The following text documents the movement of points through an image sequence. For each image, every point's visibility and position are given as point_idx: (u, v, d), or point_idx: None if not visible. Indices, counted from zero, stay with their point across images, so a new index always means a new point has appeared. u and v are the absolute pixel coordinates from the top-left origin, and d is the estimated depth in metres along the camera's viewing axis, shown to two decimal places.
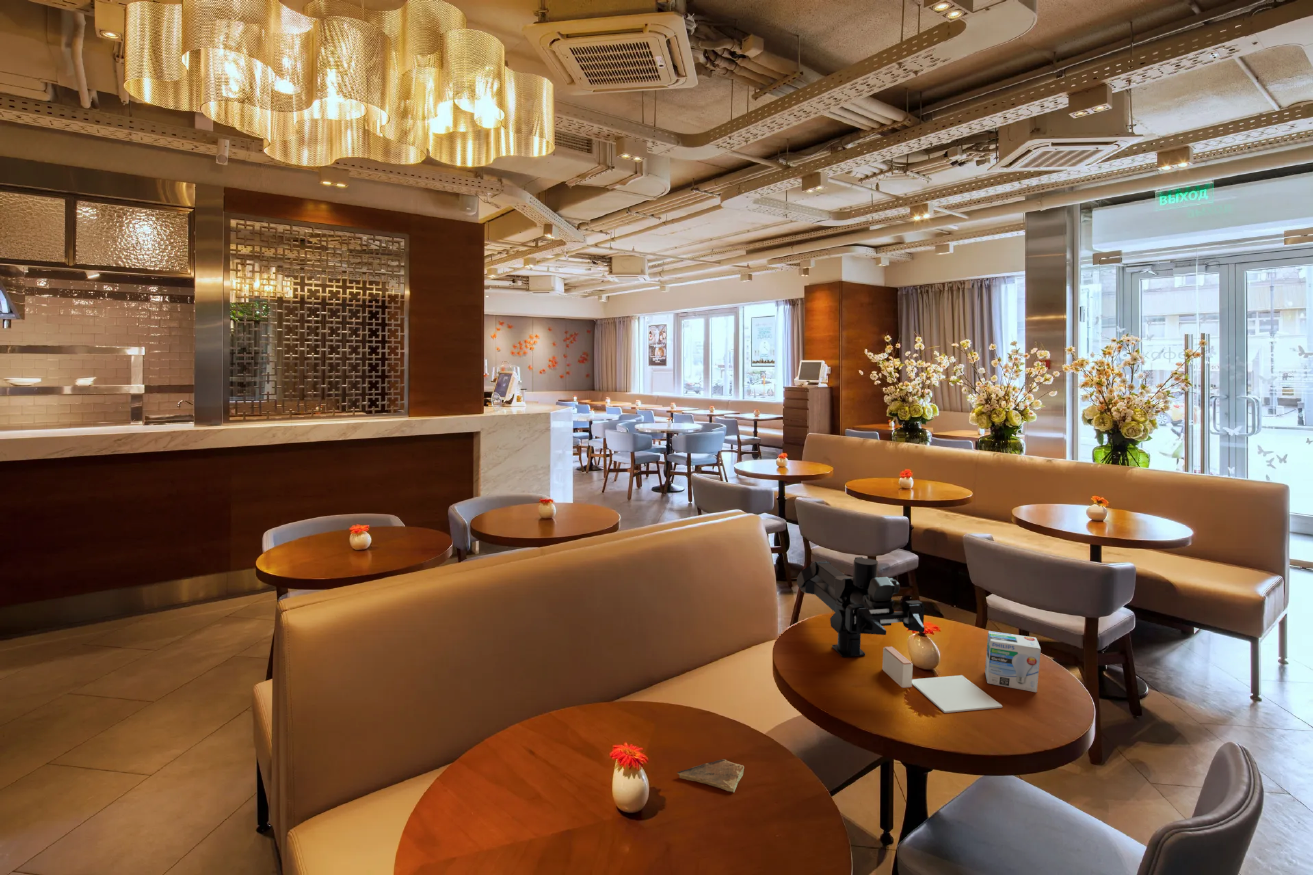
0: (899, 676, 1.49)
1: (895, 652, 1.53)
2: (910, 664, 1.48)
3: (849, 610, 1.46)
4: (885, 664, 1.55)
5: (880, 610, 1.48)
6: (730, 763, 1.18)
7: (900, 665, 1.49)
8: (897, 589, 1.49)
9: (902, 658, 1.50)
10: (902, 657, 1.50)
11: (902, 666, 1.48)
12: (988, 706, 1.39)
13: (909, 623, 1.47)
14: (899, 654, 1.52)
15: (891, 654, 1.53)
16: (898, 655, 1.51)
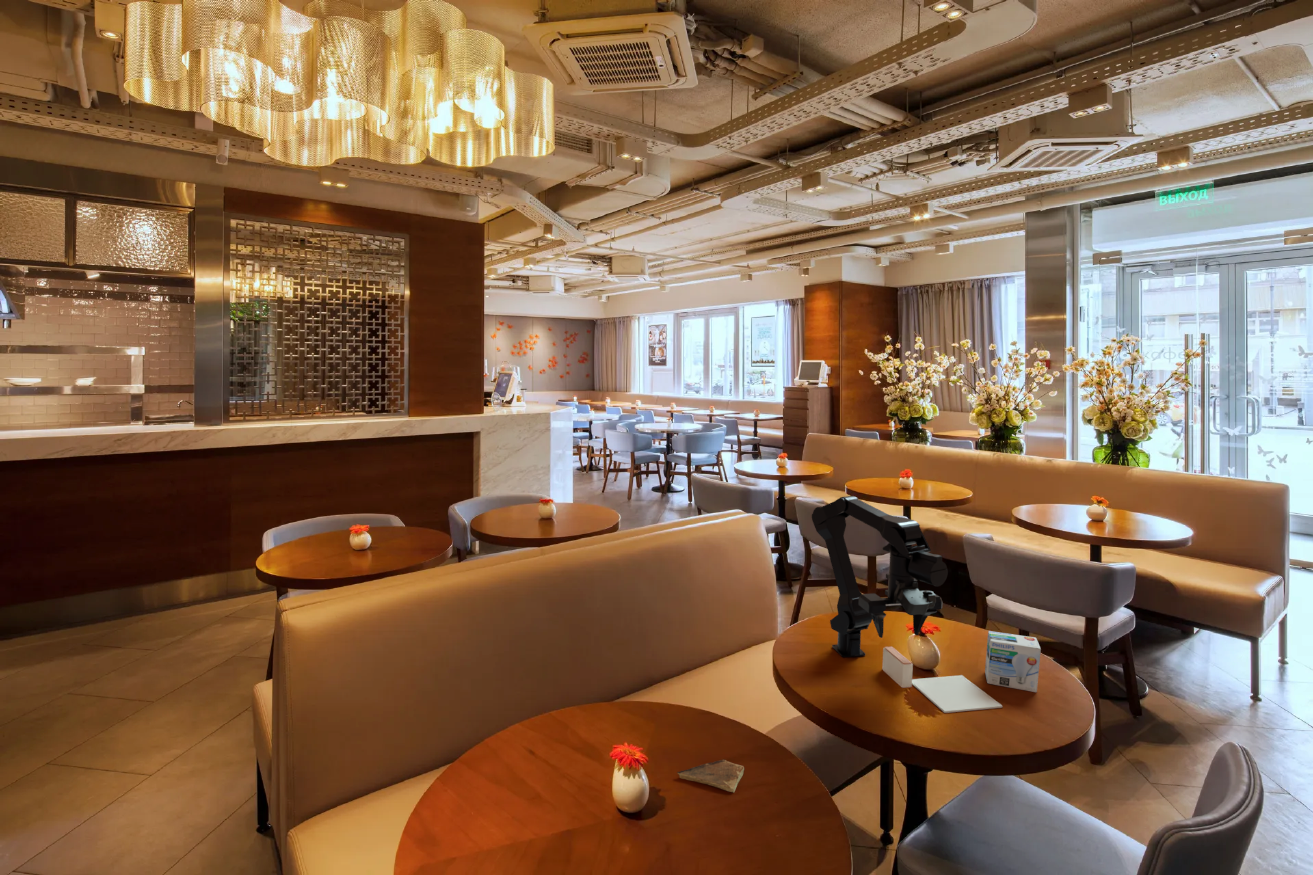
0: (899, 676, 1.49)
1: (895, 652, 1.53)
2: (910, 664, 1.48)
3: (868, 610, 1.47)
4: (885, 664, 1.55)
5: None
6: (730, 763, 1.18)
7: (900, 665, 1.49)
8: None
9: (902, 658, 1.50)
10: (902, 657, 1.50)
11: (902, 666, 1.48)
12: (988, 706, 1.39)
13: None
14: (899, 654, 1.52)
15: (891, 654, 1.53)
16: (898, 656, 1.51)
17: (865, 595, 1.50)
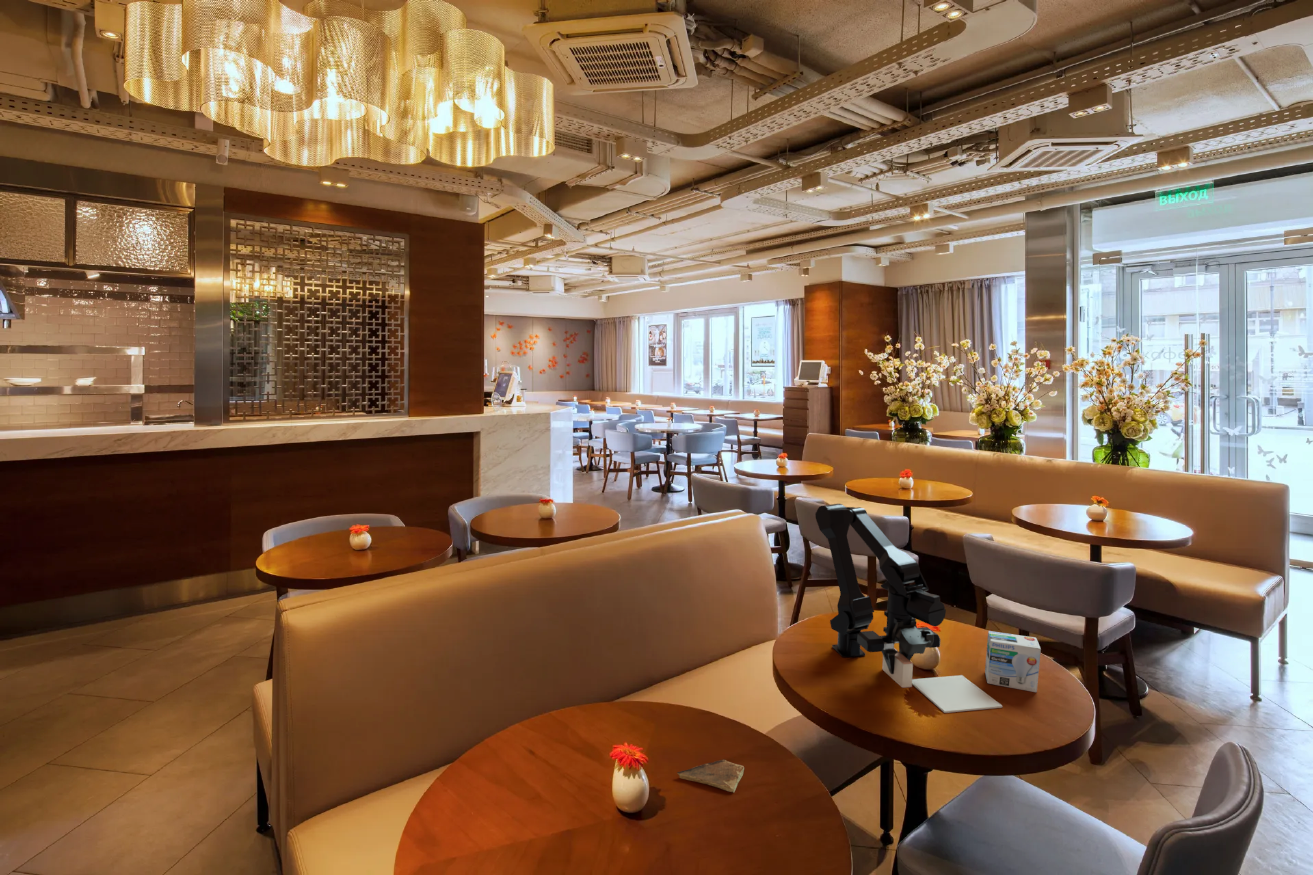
0: (899, 675, 1.49)
1: None
2: (910, 664, 1.48)
3: (867, 649, 1.48)
4: (885, 664, 1.55)
5: None
6: (730, 763, 1.18)
7: (900, 665, 1.49)
8: None
9: (902, 658, 1.50)
10: (902, 657, 1.50)
11: (902, 666, 1.48)
12: (988, 706, 1.39)
13: None
14: (899, 654, 1.52)
15: None
16: (898, 655, 1.51)
17: (864, 632, 1.51)
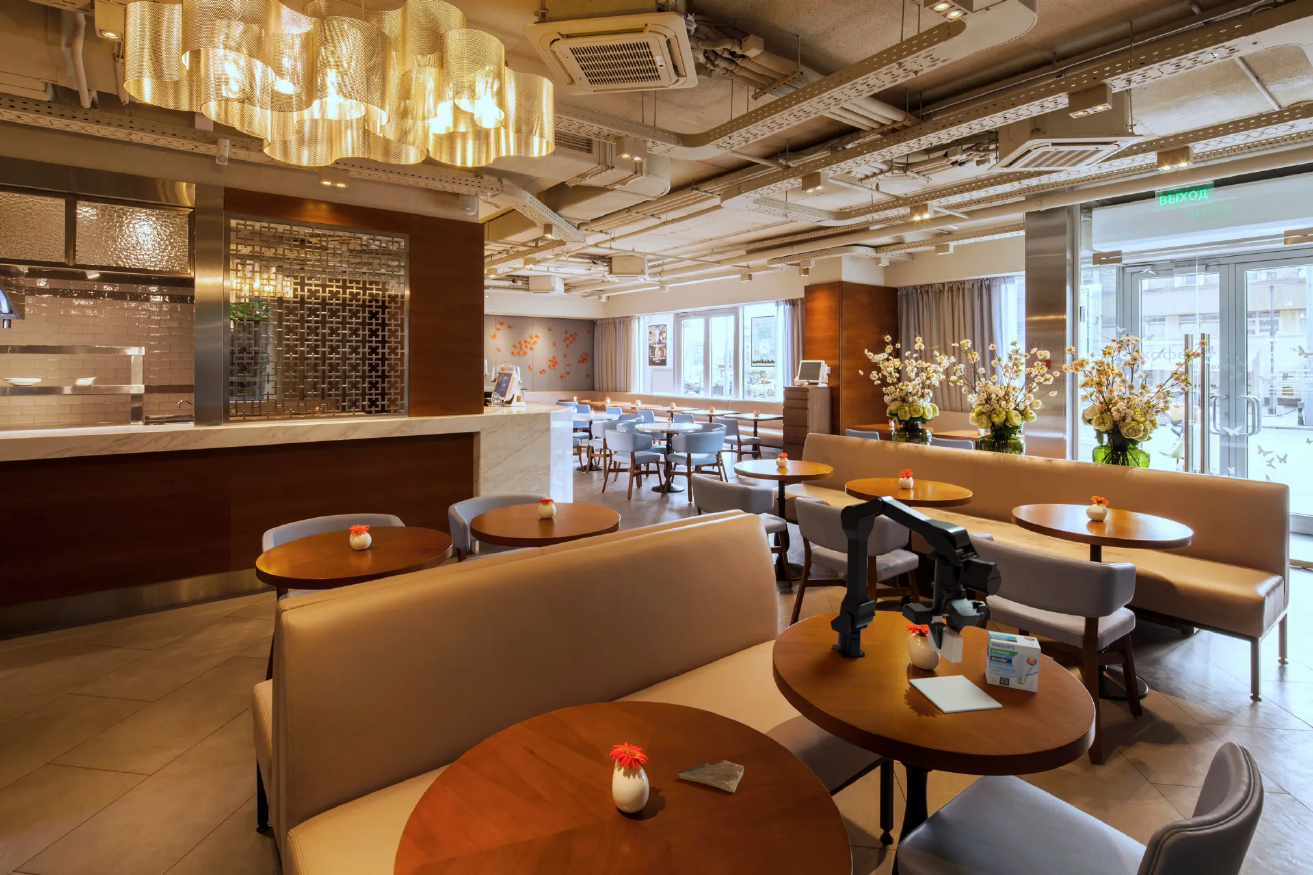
0: (948, 650, 1.40)
1: None
2: (960, 637, 1.39)
3: (914, 621, 1.39)
4: (931, 639, 1.46)
5: None
6: (730, 763, 1.18)
7: (949, 638, 1.40)
8: None
9: (951, 631, 1.41)
10: (951, 630, 1.42)
11: (952, 639, 1.39)
12: (988, 706, 1.39)
13: (950, 618, 1.44)
14: (947, 627, 1.43)
15: None
16: (947, 629, 1.42)
17: (910, 605, 1.42)
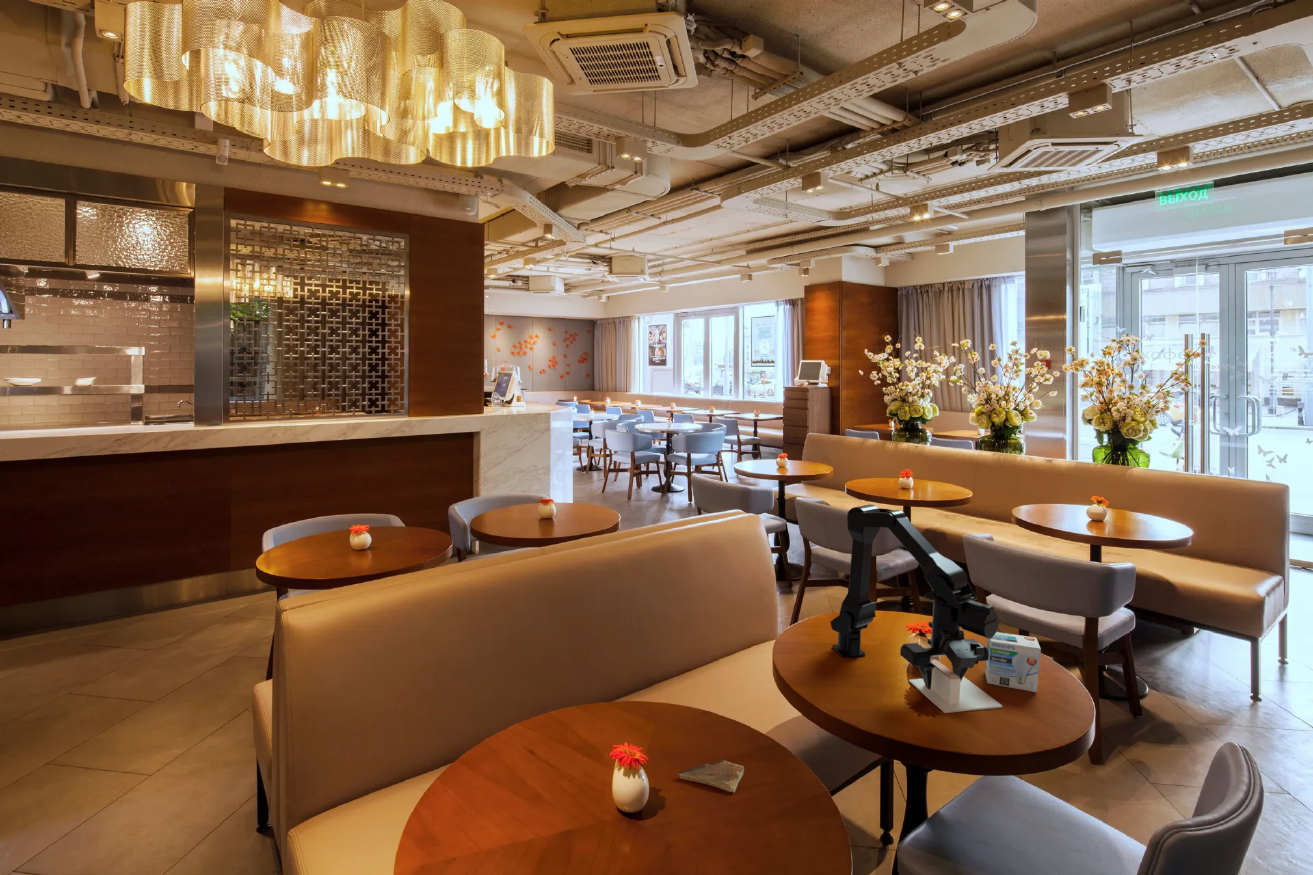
0: (946, 691, 1.41)
1: (940, 666, 1.45)
2: (958, 679, 1.40)
3: (912, 662, 1.40)
4: None
5: None
6: (730, 764, 1.18)
7: (947, 680, 1.41)
8: None
9: (949, 672, 1.42)
10: (948, 671, 1.43)
11: (949, 681, 1.40)
12: (988, 706, 1.39)
13: None
14: (945, 668, 1.44)
15: (936, 667, 1.45)
16: (944, 669, 1.43)
17: (908, 644, 1.44)
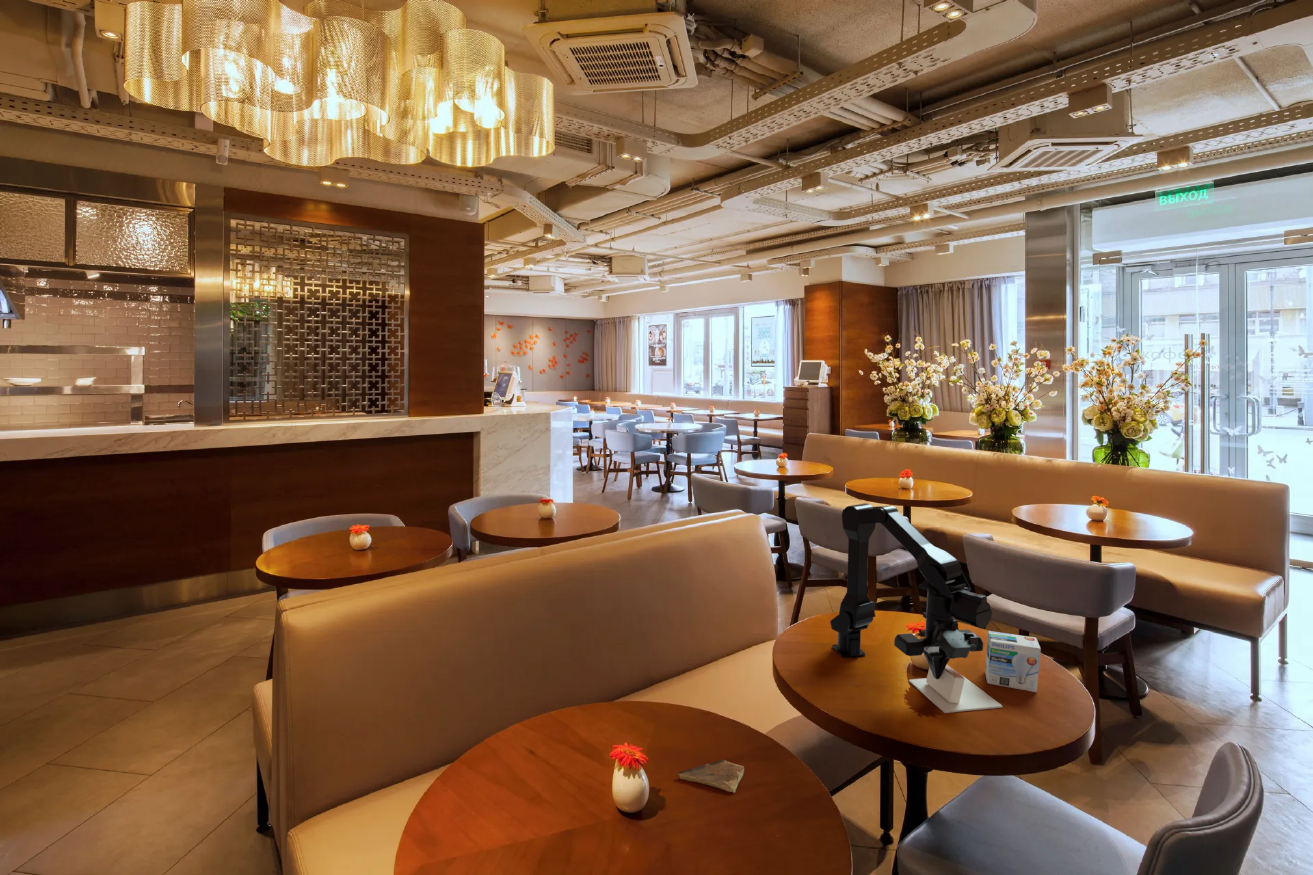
0: (948, 689, 1.41)
1: None
2: (962, 678, 1.40)
3: (905, 652, 1.39)
4: (930, 676, 1.48)
5: None
6: (730, 764, 1.18)
7: (950, 678, 1.41)
8: None
9: (953, 671, 1.42)
10: (953, 670, 1.43)
11: (953, 679, 1.40)
12: (988, 706, 1.39)
13: None
14: (949, 667, 1.44)
15: None
16: (949, 668, 1.43)
17: (902, 635, 1.43)
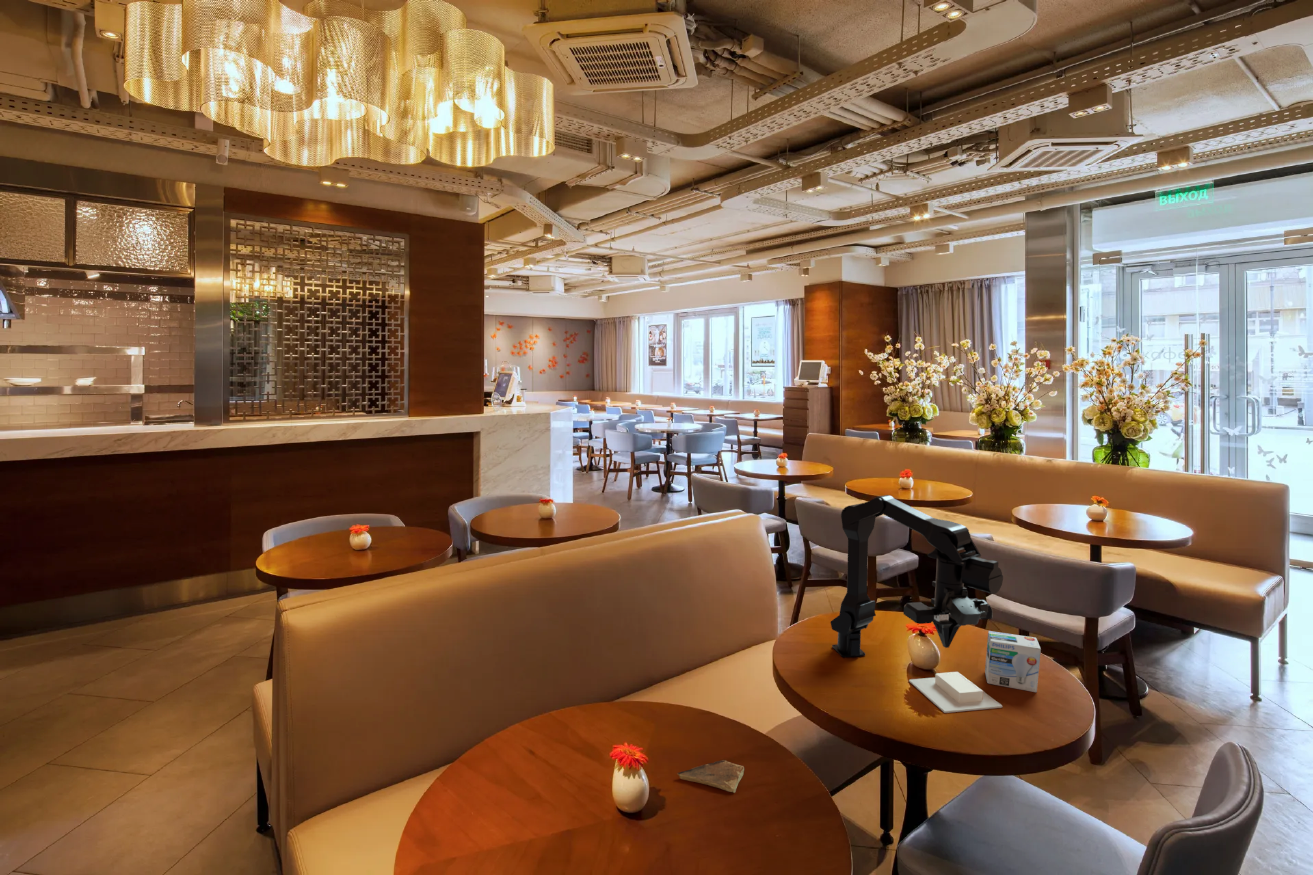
0: (965, 689, 1.42)
1: None
2: (981, 698, 1.41)
3: (915, 620, 1.39)
4: (946, 675, 1.48)
5: None
6: (730, 764, 1.18)
7: (976, 688, 1.42)
8: None
9: None
10: None
11: (979, 690, 1.41)
12: (988, 706, 1.39)
13: None
14: None
15: (966, 679, 1.47)
16: None
17: (911, 603, 1.42)
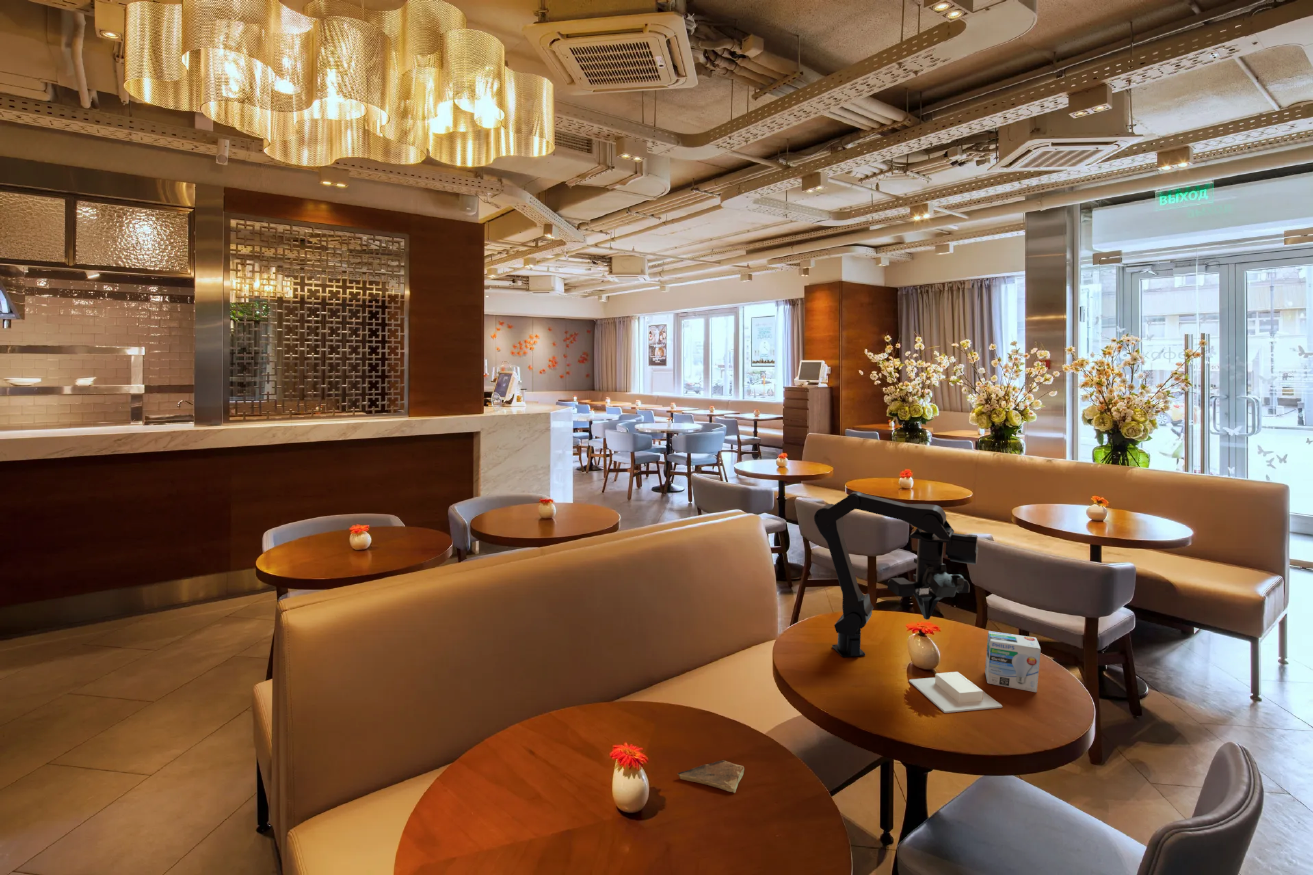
0: (965, 689, 1.42)
1: None
2: (981, 698, 1.41)
3: (898, 593, 1.51)
4: (946, 675, 1.48)
5: None
6: (730, 764, 1.18)
7: (976, 688, 1.42)
8: None
9: None
10: None
11: (979, 690, 1.41)
12: (988, 706, 1.39)
13: None
14: None
15: (966, 679, 1.47)
16: None
17: (894, 579, 1.54)
